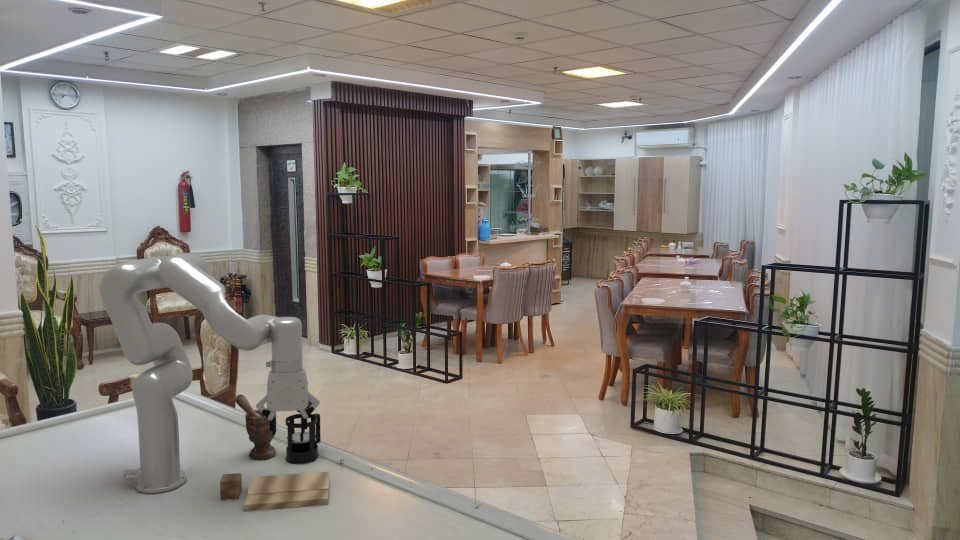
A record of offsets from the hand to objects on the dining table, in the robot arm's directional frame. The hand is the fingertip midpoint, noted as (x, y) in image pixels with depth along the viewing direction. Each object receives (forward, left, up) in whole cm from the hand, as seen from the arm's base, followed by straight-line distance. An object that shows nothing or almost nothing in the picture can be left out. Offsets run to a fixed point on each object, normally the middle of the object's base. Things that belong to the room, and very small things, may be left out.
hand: (288, 432), depth 172 cm
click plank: (0, -1, -15) cm, 15 cm away
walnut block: (-14, -1, -16) cm, 21 cm away
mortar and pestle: (-11, +24, -16) cm, 31 cm away
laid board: (0, -7, -16) cm, 17 cm away
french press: (+2, +22, -16) cm, 27 cm away
